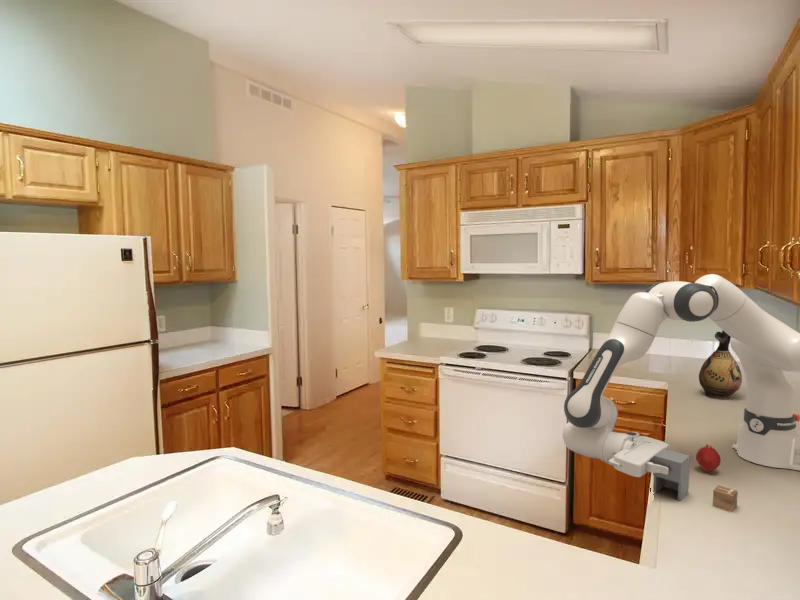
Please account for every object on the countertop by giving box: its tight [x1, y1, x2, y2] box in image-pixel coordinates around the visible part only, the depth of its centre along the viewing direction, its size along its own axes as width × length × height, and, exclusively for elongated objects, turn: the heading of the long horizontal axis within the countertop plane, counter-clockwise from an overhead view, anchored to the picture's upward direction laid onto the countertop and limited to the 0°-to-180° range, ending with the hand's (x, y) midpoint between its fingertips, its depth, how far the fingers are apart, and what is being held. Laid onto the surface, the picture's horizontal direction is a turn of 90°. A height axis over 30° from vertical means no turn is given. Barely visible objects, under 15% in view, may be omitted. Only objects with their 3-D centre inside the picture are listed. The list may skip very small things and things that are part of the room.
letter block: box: [712, 484, 739, 513], centre depth 118 cm, size 4×4×4 cm
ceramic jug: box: [698, 329, 743, 400], centre depth 208 cm, size 17×15×30 cm
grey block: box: [652, 449, 691, 502], centre depth 124 cm, size 6×6×10 cm
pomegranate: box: [695, 443, 721, 473], centre depth 137 cm, size 6×6×8 cm
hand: (675, 465), depth 123 cm, fingers open, 7 cm apart
